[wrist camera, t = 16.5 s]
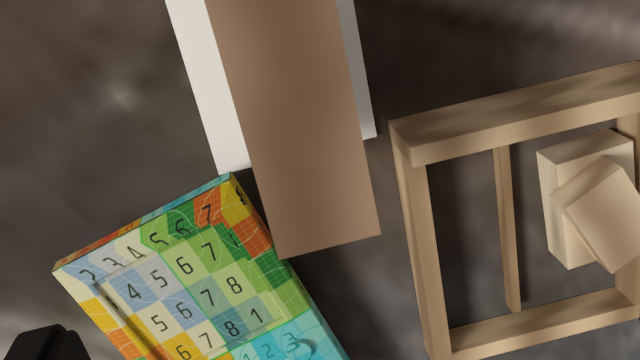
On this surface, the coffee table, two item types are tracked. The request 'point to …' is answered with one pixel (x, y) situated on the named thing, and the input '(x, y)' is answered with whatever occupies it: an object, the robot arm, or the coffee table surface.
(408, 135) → the frame
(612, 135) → the offcut low
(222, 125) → the mat
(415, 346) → the coffee table surface
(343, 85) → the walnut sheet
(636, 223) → the offcut top
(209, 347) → the puzzle game
